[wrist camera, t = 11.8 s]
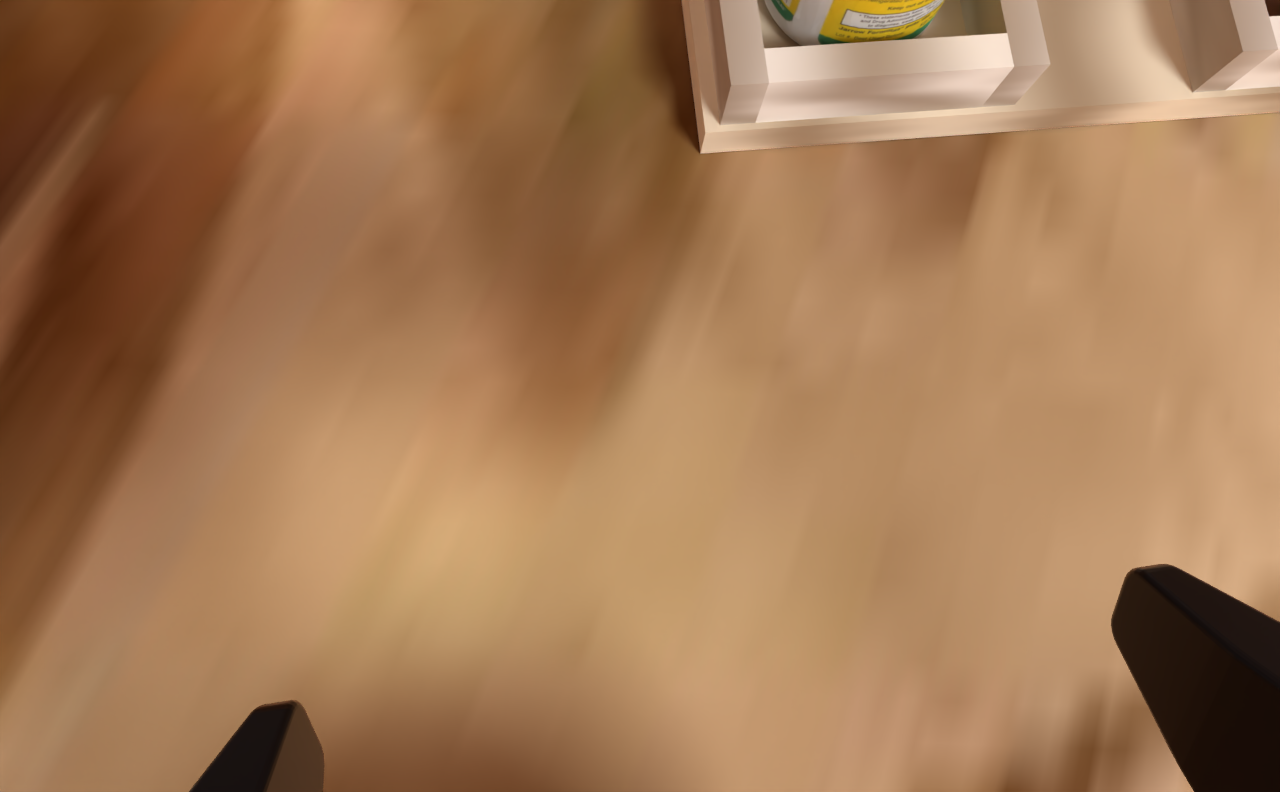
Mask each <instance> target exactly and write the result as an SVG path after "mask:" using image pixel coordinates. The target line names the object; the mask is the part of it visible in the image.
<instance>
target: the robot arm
mask: <svg viewBox="0 0 1280 792" xmlns="http://www.w3.org/2000/svg"><path fill="white" fill-rule="evenodd" d="M1111 627H1112V633H1113V636H1114V639H1115V642H1116V644H1117V646H1118V648H1119V650H1120V652H1121V654H1122V656H1123V658H1124V660H1125V662H1126V664H1127V666H1128V668H1129V670H1130V672H1131V674H1132V676H1133V678H1134V680H1135V681H1136V683H1137V685H1138V687H1139V689H1140V691H1141V693H1142V695H1143V697H1144V699H1145V701H1146V703H1147V705H1148V707H1149V709H1150V711H1151V713H1152V715H1153V717H1154V719H1155V721H1156V723H1157V725H1158V727H1159V729H1160V731H1161V733H1162V735H1163V737H1164V739H1165V741H1166V743H1167V745H1168V747H1169V749H1170V751H1171V752H1172V754H1173V756H1174V758H1175V760H1176V762H1177V764H1178V765H1179V767H1180V769H1181V771H1182V772H1183V774H1184V776H1185V777H1186V779H1187V781H1188V782H1189V784H1190V786H1191V787H1192V789H1193V791H1194V792H1280V622H1279V621H1277V620H1275V619H1273V618H1271V617H1269V616H1268V615H1266V614H1264V613H1262V612H1260V611H1258V610H1256V609H1254V608H1252V607H1251V606H1249V605H1247V604H1245V603H1243V602H1241V601H1239V600H1237V599H1236V598H1234V597H1232V596H1230V595H1228V594H1226V593H1224V592H1222V591H1220V590H1219V589H1217V588H1215V587H1213V586H1211V585H1209V584H1207V583H1205V582H1204V581H1202V580H1200V579H1198V578H1196V577H1194V576H1192V575H1190V574H1188V573H1187V572H1185V571H1183V570H1181V569H1179V568H1177V567H1175V566H1172V565H1168V564H1158V565H1151V566H1145V567H1139V568H1134V569H1132V570H1131V571H1130V572H1128V573H1127V575H1126V577H1125V579H1124V582H1123V585H1122V588H1121V591H1120V594H1119V597H1118V600H1117V603H1116V606H1115V609H1114V612H1113V615H1112V619H1111ZM323 781H324V756H323V750H322V747H321V744H320V742H319V740H318V738H317V735H316V733H315V731H314V729H313V727H312V724H311V722H310V720H309V718H308V716H307V713H306V711H305V709H304V707H303V706H302V704H301V703H299V702H298V701H296V700H290V701H283V702H277V703H271V704H265V705H261V706H259V707H257V708H256V709H255V710H253V711H252V712H251V713H250V715H249V716H248V717H247V718H246V720H245V721H244V722H243V724H242V725H241V726H240V727H239V729H238V730H237V731H236V732H235V734H234V735H233V736H232V738H231V739H230V740H229V741H228V743H227V744H226V745H225V746H224V748H223V749H222V750H221V752H220V753H219V754H218V755H217V757H216V758H215V759H214V761H213V762H212V763H211V764H210V766H209V767H208V768H207V769H206V771H205V772H204V773H203V775H202V776H201V777H200V778H199V780H198V781H197V782H196V783H195V785H194V786H193V787H192V789H191V790H190V791H189V792H323Z"/></svg>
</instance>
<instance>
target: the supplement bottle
mask: <svg viewBox="0 0 1280 792" xmlns="http://www.w3.org/2000/svg"><path fill="white" fill-rule="evenodd" d="M764 1H765V3H766V6H767V8H768V10H769V12H770V14H771V16H772V18H773V19H774V20H775V22H776V23H777V24H778V26H779V27H780V28H781V29H782V30H783V31H784V33H785V34H787V35H788V36H789V37H790V38H791V39H792V40H793V41H795V42H796V43H798V44H799V45H801V46H813V45H828V44H844V43H860V42H875V41H891V40H907V39H917V38H918V37H919V36H920V35H921V34H922V33H923V32H924V31H925V30H926V28H927V27H928V26H929V24H930V23H931V22H932V20H933V18H934V17H935V15H936V13H937V12H938V10H939V9H940V7H941V6H942V4H943V2H944V1H945V0H764Z"/></svg>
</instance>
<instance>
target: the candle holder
mask: <svg viewBox="0 0 1280 792" xmlns="http://www.w3.org/2000/svg"><path fill="white" fill-rule="evenodd" d="M681 1H682V9H683V17H684V25H685V33H686V41H687V49H688V57H689V65H690V73H691V81H692V89H693V97H694V105H695V113H696V121H697V129H698V137H699V146H700V153H714V152H728V151H742V150H756V149H770V148H784V147H798V146H812V145H826V144H840V143H854V142H868V141H882V140H896V139H910V138H924V137H938V136H952V135H966V134H980V133H994V132H1008V131H1022V130H1036V129H1050V128H1064V127H1078V126H1092V125H1106V124H1120V123H1134V122H1148V121H1162V120H1176V119H1190V118H1204V117H1218V116H1232V115H1246V114H1260V113H1274V112H1280V0H945V1H944V2H943V4H942V6H941V7H940V9H939V10H938V12H937V13H936V15H935V17H934V18H933V20H932V22H931V23H930V24H929V26H928V27H927V28H926V30H925V31H924V32H923V33H922V34H921V35H920V36H919V37H918V38H917V39H907V40H891V41H875V42H860V43H844V44H828V45H813V46H801V45H799V44H798V43H796V42H795V41H793V40H792V39H791V38H790V37H789V36H788V35H787V34H785V33H784V31H783V30H782V29H781V28H780V27H779V26H778V24H777V23H776V22H775V20H774V19H773V18H772V16H771V14H770V12H769V10H768V8H767V6H766V3H765V1H764V0H681Z"/></svg>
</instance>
